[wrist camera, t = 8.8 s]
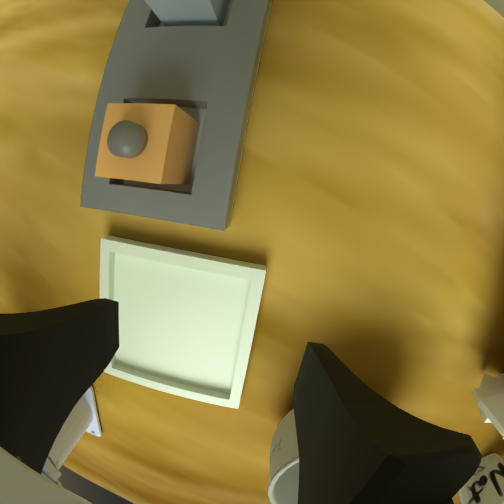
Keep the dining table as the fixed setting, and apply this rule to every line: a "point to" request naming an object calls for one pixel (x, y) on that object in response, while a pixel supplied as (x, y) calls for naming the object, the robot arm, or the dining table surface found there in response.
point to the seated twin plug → (190, 12)
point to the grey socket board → (189, 100)
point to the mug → (485, 483)
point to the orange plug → (147, 143)
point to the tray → (181, 318)
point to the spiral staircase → (491, 400)
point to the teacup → (284, 463)
